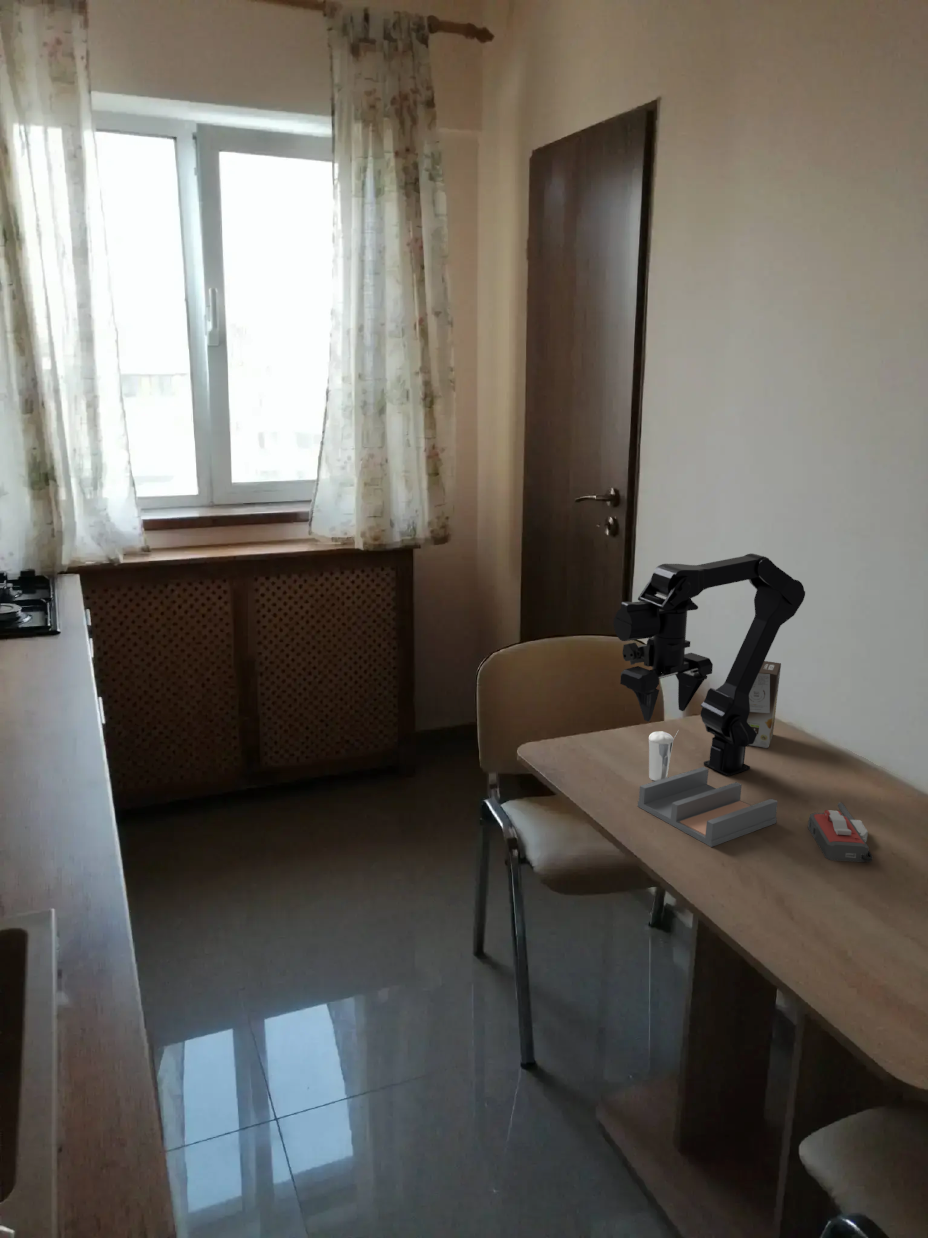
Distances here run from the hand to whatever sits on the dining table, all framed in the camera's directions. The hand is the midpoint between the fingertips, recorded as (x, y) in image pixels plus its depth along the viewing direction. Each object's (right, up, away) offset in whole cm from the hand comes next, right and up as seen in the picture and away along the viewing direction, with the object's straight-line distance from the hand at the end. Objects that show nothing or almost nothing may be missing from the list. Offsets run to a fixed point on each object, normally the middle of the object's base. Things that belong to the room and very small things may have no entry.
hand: (664, 715), depth 171 cm
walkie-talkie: (+25, -19, -17) cm, 35 cm away
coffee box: (+25, -8, +24) cm, 35 cm away
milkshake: (0, -12, +4) cm, 13 cm away
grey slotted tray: (+5, -16, -11) cm, 20 cm away
